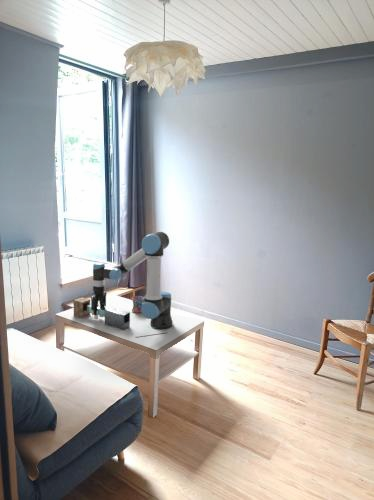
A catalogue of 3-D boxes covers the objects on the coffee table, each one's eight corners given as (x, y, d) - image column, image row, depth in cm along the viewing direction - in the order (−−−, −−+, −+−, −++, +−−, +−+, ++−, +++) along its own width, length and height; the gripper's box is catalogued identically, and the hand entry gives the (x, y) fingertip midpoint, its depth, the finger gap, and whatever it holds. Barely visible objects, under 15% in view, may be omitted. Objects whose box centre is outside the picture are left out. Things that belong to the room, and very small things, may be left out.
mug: (136, 314, 270) (137, 300, 268) (128, 311, 276) (129, 297, 274) (149, 310, 279) (149, 297, 277) (141, 307, 285) (141, 294, 283)
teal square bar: (123, 319, 249) (123, 311, 248) (118, 322, 244) (118, 314, 243) (92, 310, 262) (92, 302, 261) (86, 313, 257) (86, 305, 256)
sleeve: (129, 327, 247) (130, 312, 245) (123, 330, 242) (123, 315, 240) (111, 321, 255) (111, 307, 253) (104, 324, 249) (104, 310, 247)
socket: (90, 314, 265) (90, 299, 263) (82, 318, 258) (81, 302, 256) (82, 312, 269) (81, 297, 267) (73, 315, 262) (73, 300, 260)
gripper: (103, 281, 261) (103, 313, 265) (85, 287, 246) (85, 320, 250) (111, 283, 257) (111, 315, 262) (93, 289, 242) (93, 323, 247)
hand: (98, 317), depth 256 cm, fingers closed on teal square bar, 4 cm apart
